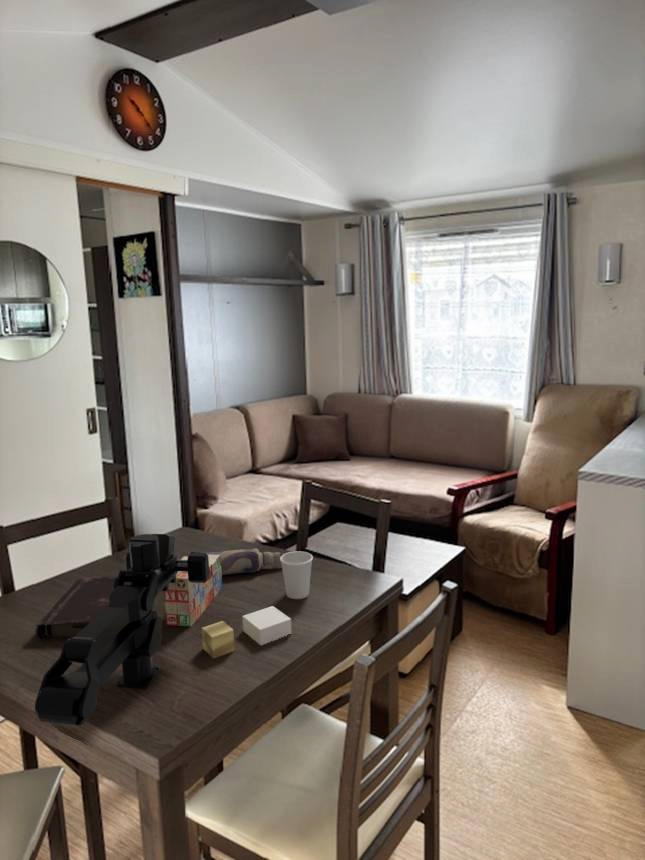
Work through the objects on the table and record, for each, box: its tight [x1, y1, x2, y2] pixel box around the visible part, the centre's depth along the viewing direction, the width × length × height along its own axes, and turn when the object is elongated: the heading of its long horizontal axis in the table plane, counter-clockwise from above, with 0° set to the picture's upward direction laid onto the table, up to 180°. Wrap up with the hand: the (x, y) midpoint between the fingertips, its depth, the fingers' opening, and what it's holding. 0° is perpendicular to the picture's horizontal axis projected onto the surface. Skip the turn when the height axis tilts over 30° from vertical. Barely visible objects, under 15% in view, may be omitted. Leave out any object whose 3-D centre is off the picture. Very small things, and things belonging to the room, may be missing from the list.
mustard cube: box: [201, 620, 235, 660], centre depth 137 cm, size 5×5×5 cm
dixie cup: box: [280, 550, 314, 600], centre depth 162 cm, size 8×8×10 cm
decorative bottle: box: [205, 547, 285, 576], centre depth 177 cm, size 26×8×7 cm, turn 103°
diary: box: [35, 574, 132, 641], centre depth 155 cm, size 19×25×5 cm
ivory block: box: [241, 605, 292, 646], centre depth 144 cm, size 8×8×4 cm
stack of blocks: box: [163, 554, 223, 628], centre depth 157 cm, size 21×6×12 cm, turn 169°
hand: (181, 552), depth 149 cm, fingers open, 9 cm apart
